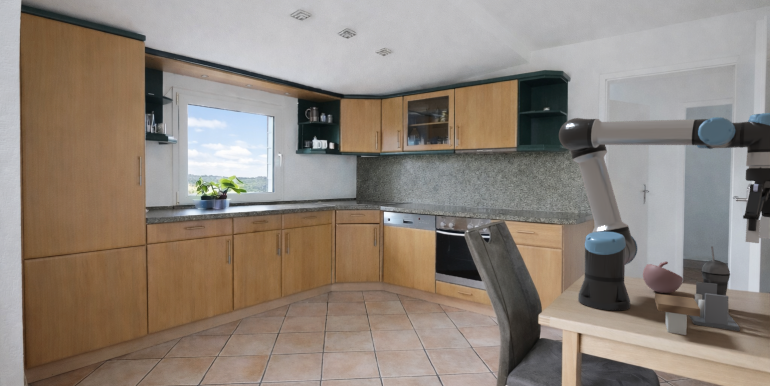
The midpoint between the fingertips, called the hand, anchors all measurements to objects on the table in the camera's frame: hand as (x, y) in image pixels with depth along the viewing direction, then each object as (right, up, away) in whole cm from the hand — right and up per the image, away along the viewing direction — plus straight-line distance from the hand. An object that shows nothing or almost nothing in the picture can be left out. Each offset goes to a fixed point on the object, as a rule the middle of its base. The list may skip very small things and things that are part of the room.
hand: (759, 240), depth 117 cm
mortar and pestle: (-8, -23, +30) cm, 38 cm away
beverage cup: (-3, -24, +12) cm, 27 cm away
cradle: (-12, -24, +3) cm, 27 cm away
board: (-29, -18, -6) cm, 35 cm away
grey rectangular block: (-29, -24, -6) cm, 38 cm away
